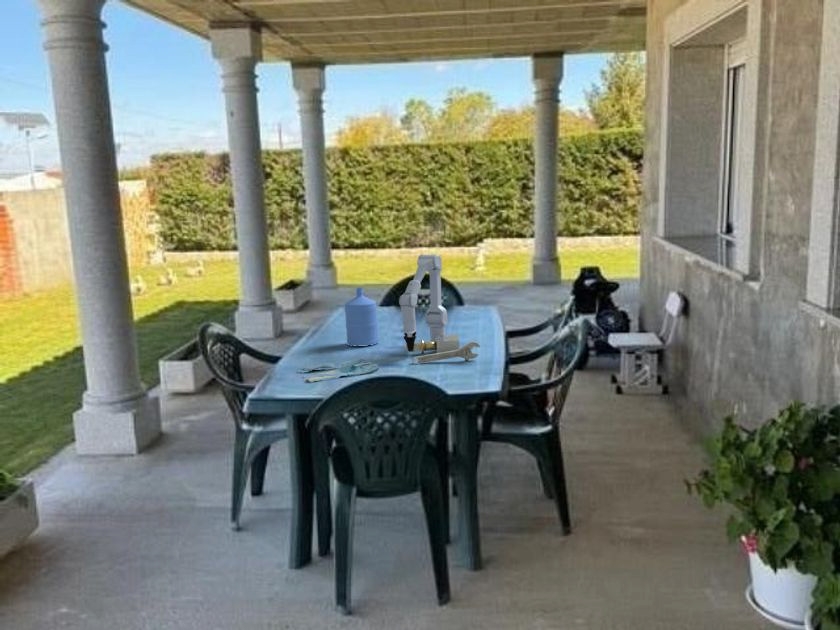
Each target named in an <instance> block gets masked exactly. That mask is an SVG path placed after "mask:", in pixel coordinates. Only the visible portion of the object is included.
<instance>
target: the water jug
mask: <svg viewBox="0 0 840 630" xmlns="http://www.w3.org/2000/svg"><path fill="white" fill-rule="evenodd" d="M355 290H356V297H354V298H352V299H350V300H348V301H346V302H345V303H344V313H345V330H346V344H347V343H348V344H349V345H356V346H359V345H371V344H375V343H377V344H379V342H380V341H379V339H380V338H379V331H378V330H379V328H378V326H379V325H378V316H377V315H378V314H377V313H378V312H377V302H376V301H375V300H374V299H371V298H368V297H367V296H364V293H363V292H364V291H363V287H356V288H355ZM348 344H347V345H348ZM349 345H348V346H349Z"/></svg>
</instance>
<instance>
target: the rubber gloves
mask: <svg viewBox="0 0 840 630" xmlns="http://www.w3.org/2000/svg"><path fill="white" fill-rule="evenodd" d="M363 360H365V357H363V356H360V357H356V358H354V359H351V360H348V361H349V362H347V361H346V362H347V363H345V364H344V365H340V366H341V367H340V368H339V369H332V370H327V371H325V372H319V373H318V374H324V373H326V374H330V373H331V374H333V373H334V374H339V373H348V372H353V373H354V374H347V375H357V376H360V374H362V375H366V374H369V373H374V372H376V371H379V370H380V367H379V366H378V365H379V364H377V363H374V364H372V362H364V361H363ZM362 362H363V363H362ZM322 364H329V365H327V366H315V365H314V366H309V365H308V366H309V367H305V366H302V367H301V369H300V368H298V369H299V370H303V371H310V372H313V371H312V370H315V369H318V368H332V367H334V365H335V364H334V363H332V362H324V363H319V364H318V365H322ZM333 364H334V365H333ZM365 364H369V365H365ZM354 365H362V366H361V367H360V366H354ZM338 376H346V375H338ZM331 377H337V376H324V377H311V378H307V379H308V380H309V381H314V380H321V379H325V378H331ZM309 381H308V382H309Z"/></svg>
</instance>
